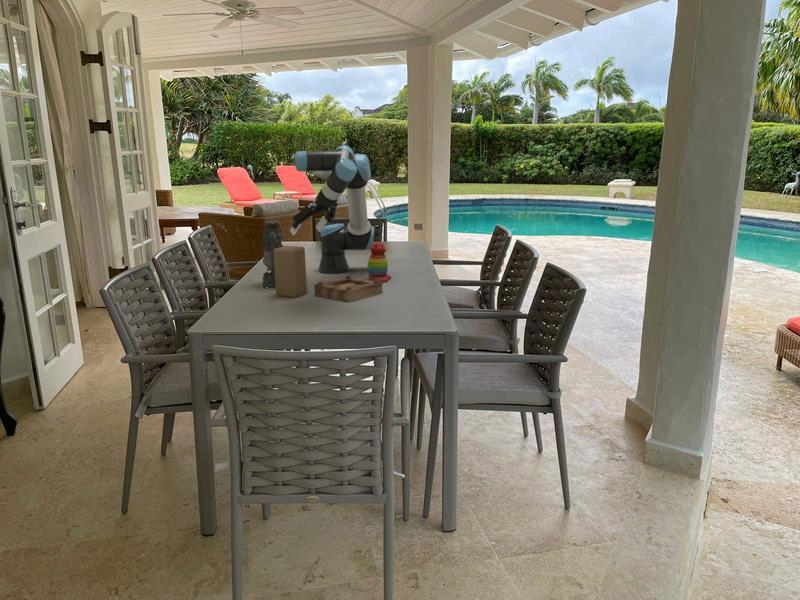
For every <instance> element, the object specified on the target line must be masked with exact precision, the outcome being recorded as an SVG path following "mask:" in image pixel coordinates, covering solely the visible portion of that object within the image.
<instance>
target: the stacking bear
mask: <svg viewBox="0 0 800 600" xmlns="http://www.w3.org/2000/svg"><path fill="white" fill-rule="evenodd" d="M370 252H371V254H370V256H369V258H368V261H367V271H368V275H369V276H368V279H367V280H370V281H374V280H379V282H382V283H388V282H389V280H391V279H392V276H391V275H390V274H388V270H389V269H388V267H389V265H388V261H387V260H388V259H387V256H386V255H385V253H386V252H387V247H386V246H385V245H384V244H383V243H382V242H380V241H376V242H373V244H372V245H371V247H370Z"/></svg>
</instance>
